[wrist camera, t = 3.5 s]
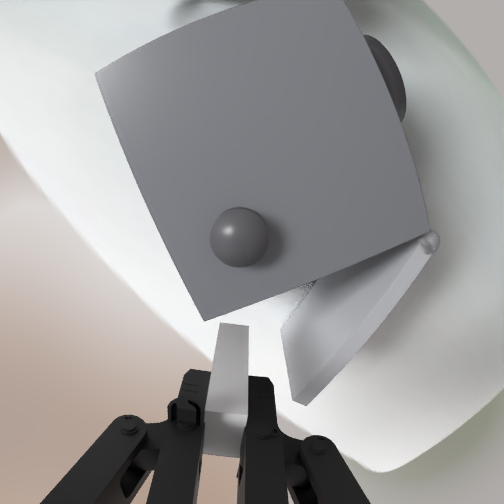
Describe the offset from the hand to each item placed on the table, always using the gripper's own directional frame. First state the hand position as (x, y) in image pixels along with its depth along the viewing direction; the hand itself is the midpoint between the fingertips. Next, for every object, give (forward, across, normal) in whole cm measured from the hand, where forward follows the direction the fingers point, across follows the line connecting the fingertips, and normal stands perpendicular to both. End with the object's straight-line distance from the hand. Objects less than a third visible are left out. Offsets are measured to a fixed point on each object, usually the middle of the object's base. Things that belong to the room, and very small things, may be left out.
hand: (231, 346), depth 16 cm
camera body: (+7, +1, +11) cm, 13 cm away
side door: (+7, +7, +3) cm, 10 cm away
